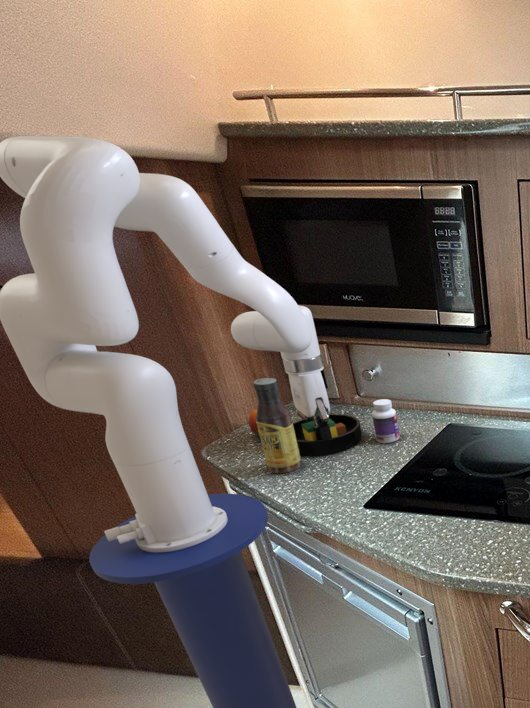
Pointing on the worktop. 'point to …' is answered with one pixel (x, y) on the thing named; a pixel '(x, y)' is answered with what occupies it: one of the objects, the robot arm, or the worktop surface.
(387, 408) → the pill bottle
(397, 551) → the worktop surface
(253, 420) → the fruit
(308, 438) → the sponge
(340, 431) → the block
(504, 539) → the worktop surface
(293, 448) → the sauce bottle
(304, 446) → the pan
